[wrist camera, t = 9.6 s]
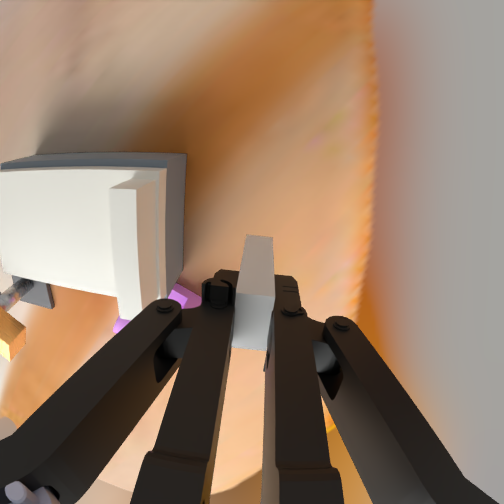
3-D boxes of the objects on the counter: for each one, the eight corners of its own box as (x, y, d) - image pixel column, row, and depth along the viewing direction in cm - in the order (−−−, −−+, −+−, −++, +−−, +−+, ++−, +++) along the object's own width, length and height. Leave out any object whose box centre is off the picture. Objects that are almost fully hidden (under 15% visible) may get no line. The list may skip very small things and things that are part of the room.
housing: (20, 297, 29) (-3, 318, 24) (-1, 158, 22) (-33, 167, 18) (183, 332, 29) (171, 366, 24) (186, 153, 22) (167, 160, 18)
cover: (12, 266, 21) (-17, 288, 17) (-1, 169, 18) (-37, 181, 14) (166, 294, 21) (147, 329, 17) (166, 168, 18) (139, 179, 14)
